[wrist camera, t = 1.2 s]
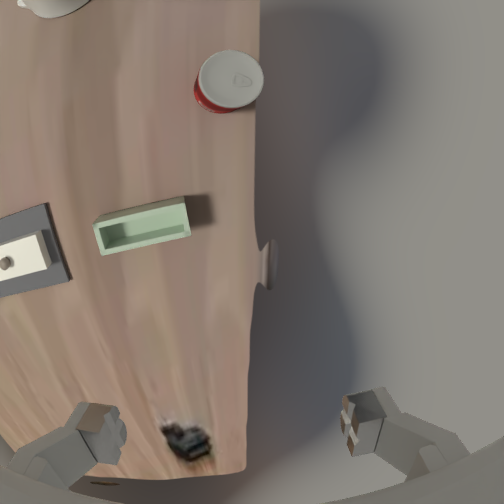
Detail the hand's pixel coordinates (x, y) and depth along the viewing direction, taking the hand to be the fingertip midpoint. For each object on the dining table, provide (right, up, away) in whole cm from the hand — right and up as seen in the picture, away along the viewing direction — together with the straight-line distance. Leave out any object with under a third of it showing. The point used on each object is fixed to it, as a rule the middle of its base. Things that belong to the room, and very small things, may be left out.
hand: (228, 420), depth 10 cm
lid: (-41, +5, +32) cm, 52 cm away
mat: (-41, +5, +33) cm, 53 cm away
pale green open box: (-16, +11, +37) cm, 42 cm away
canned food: (-4, +30, +33) cm, 45 cm away
